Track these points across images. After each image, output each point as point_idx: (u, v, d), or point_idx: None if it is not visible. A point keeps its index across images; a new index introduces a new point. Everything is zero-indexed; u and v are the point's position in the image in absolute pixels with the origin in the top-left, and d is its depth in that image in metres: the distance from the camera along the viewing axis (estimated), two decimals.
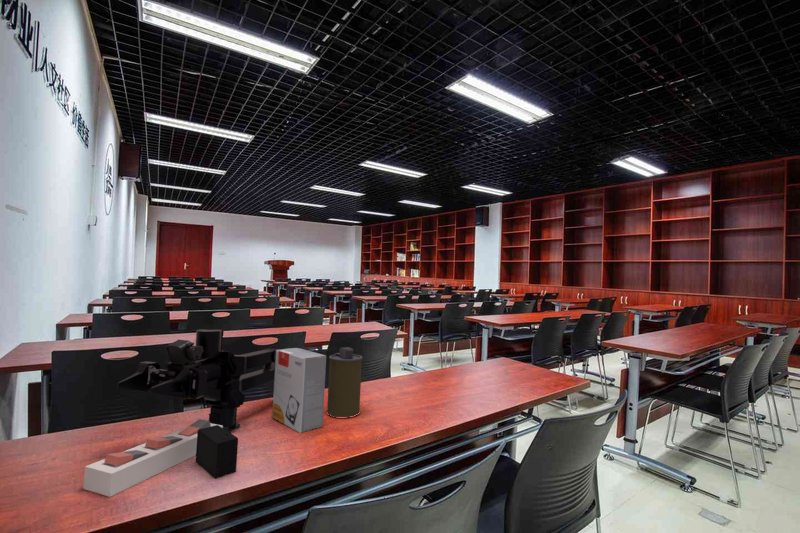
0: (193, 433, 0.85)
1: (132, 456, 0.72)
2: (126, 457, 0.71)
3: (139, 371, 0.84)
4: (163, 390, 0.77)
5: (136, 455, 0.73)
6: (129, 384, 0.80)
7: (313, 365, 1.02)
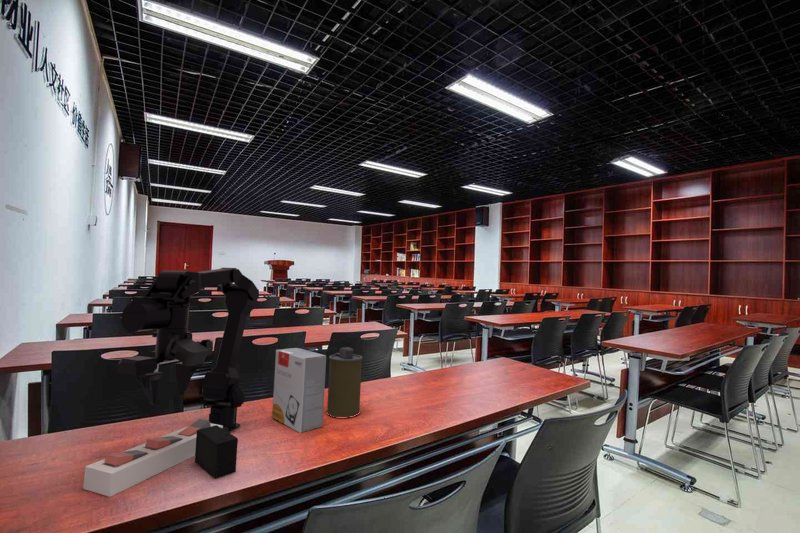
0: (193, 433, 0.85)
1: (132, 456, 0.72)
2: (126, 457, 0.71)
3: (154, 380, 0.76)
4: None
5: (136, 455, 0.73)
6: None
7: (313, 365, 1.02)
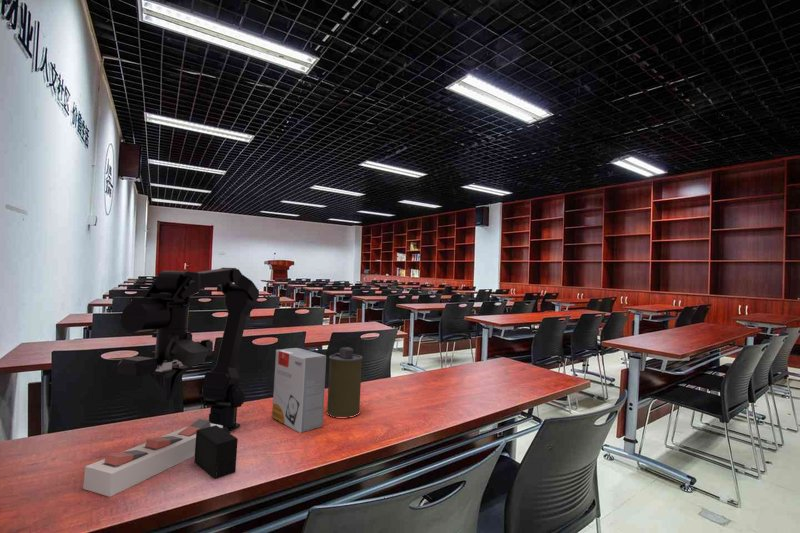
0: (193, 433, 0.85)
1: (132, 456, 0.72)
2: (126, 457, 0.71)
3: (168, 377, 0.79)
4: None
5: (136, 455, 0.73)
6: None
7: (313, 365, 1.02)
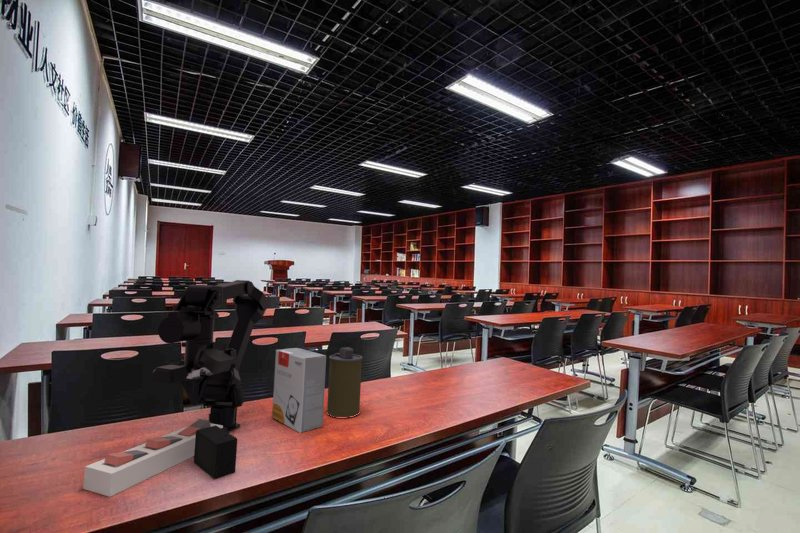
0: (193, 433, 0.85)
1: (132, 456, 0.72)
2: (126, 457, 0.71)
3: (196, 383, 0.86)
4: None
5: (136, 455, 0.73)
6: None
7: (313, 365, 1.02)
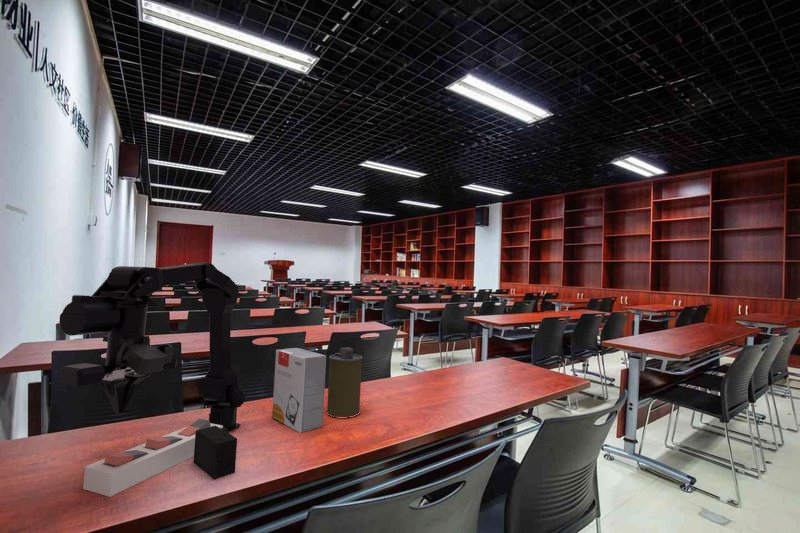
0: (193, 433, 0.85)
1: (132, 456, 0.72)
2: (126, 457, 0.71)
3: (120, 386, 0.69)
4: None
5: (136, 455, 0.73)
6: None
7: (313, 365, 1.02)
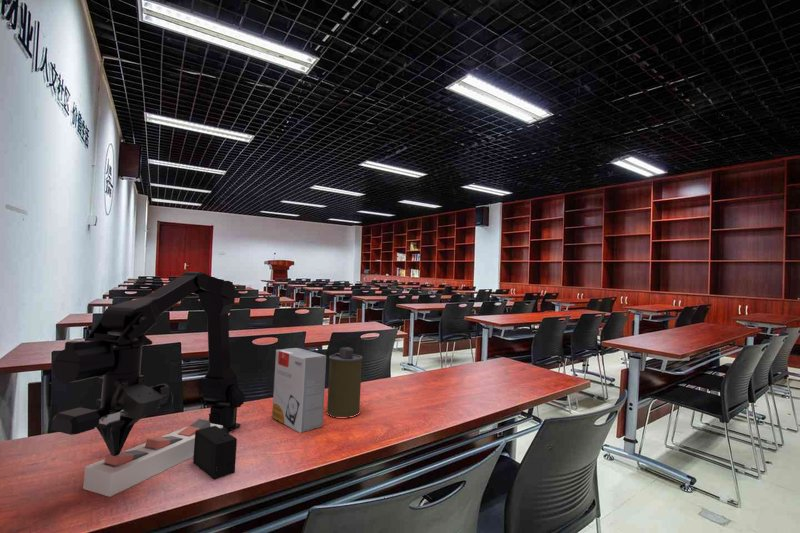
0: (193, 433, 0.85)
1: (132, 456, 0.72)
2: (126, 457, 0.71)
3: (115, 429, 0.69)
4: None
5: (136, 455, 0.73)
6: None
7: (313, 365, 1.02)
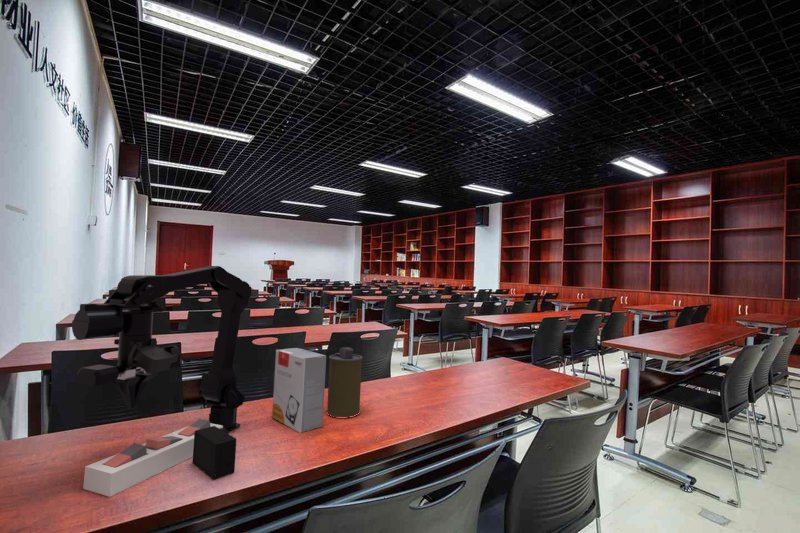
0: (193, 433, 0.85)
1: (130, 458, 0.72)
2: (123, 462, 0.70)
3: (131, 384, 0.77)
4: None
5: (134, 454, 0.72)
6: None
7: (313, 365, 1.02)
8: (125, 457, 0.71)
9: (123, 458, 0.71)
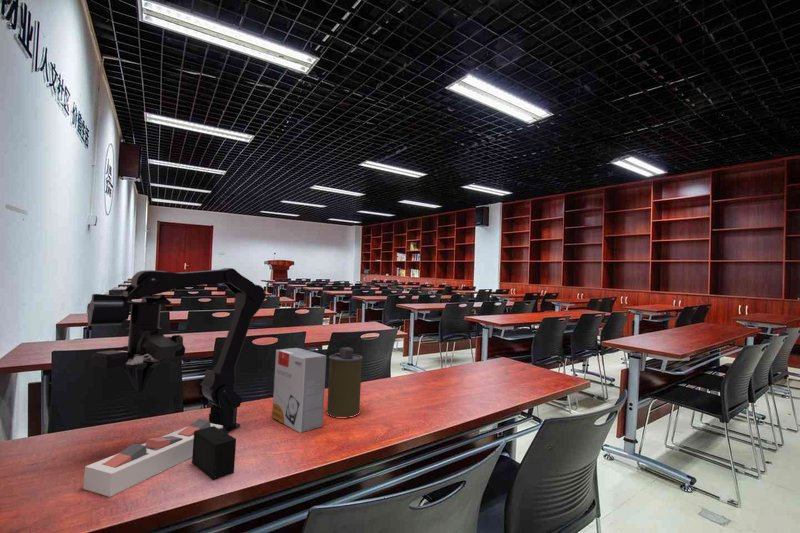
0: (193, 433, 0.85)
1: (130, 458, 0.72)
2: (123, 462, 0.70)
3: (139, 370, 0.84)
4: None
5: (134, 454, 0.72)
6: None
7: (313, 365, 1.02)
8: (125, 457, 0.71)
9: (123, 458, 0.71)
